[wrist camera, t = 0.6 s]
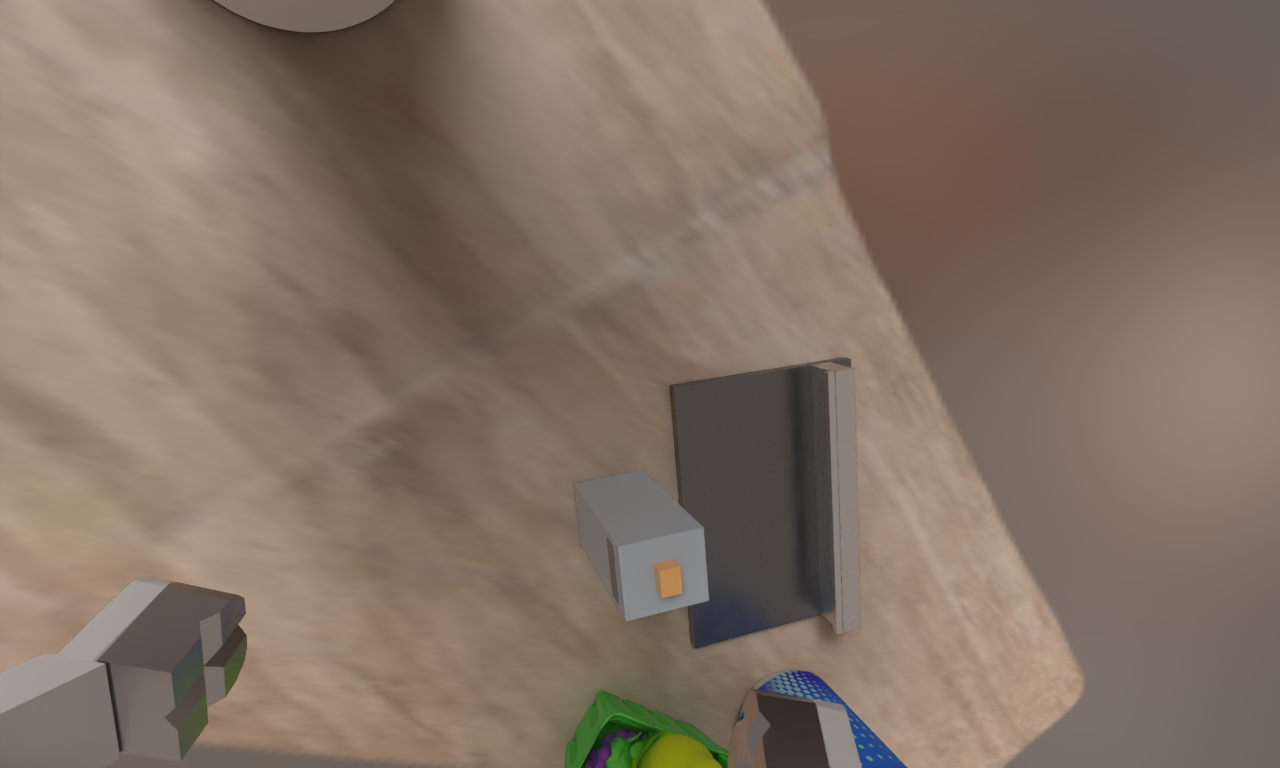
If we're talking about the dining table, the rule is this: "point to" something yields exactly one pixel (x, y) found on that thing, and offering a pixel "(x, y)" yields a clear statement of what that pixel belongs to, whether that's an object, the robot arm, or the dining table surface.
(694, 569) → the module
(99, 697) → the robot arm
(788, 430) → the rail plate
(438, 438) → the dining table surface
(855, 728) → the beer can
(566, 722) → the dining table surface
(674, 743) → the fruit basket
